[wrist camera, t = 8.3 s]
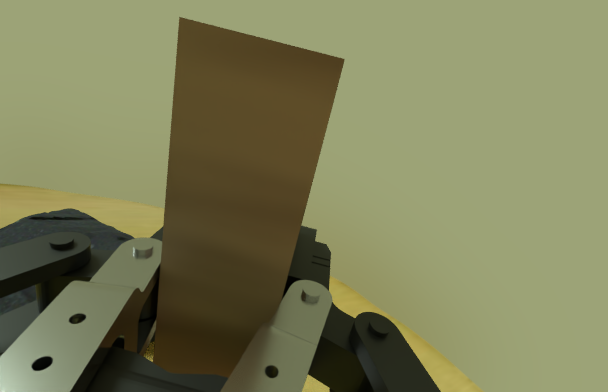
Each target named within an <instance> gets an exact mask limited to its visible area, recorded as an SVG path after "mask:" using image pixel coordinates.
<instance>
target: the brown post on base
mask: <svg viewBox="0 0 608 392" xmlns="http://www.w3.org/2000/svg"><path fill="white" fill-rule="evenodd" d="M343 64H344V59H342V58H338V57H334V56H330V55H326V54H322V53H318V52H314V51H310V50H307V49H303V48H299V47H295V46H291V45H287V44H283V43H279V42H275V41H271V40H268V39H264V38H260V37H256V36H252V35H247V34H244V33H240V32H236V31H232V30H228V29H224V28H220V27H216V26H213V25H208V24H205V23H200V22H196V21H193V20H188V19H185V18H181V17H180V19H179V30H178V44H177V56H176V69H175V82H174V83H175V84H174V95H173V108H172V121H171V134H170V135H171V136H170V148H169V161H168V174H167V187H166V188H167V189H166V200H165V213H164V226H163V239H162V252H161V265H160V278H159V291H158V304H157V317H156V331H155V344H154V357H153V363H154V364H156V365H158V366H159V367H161V368H163V369H164V370H166V371H168V372H170V373H179V374H216V375H220V376H224V377H227V378H229V377H230V375H231V373H232V372H233V370H234V368H235V367H236V365H237V364H238V362H239V360H240V359H241V357H242V355H243V354H244V352H245V351H246V349H247V347H248V346H249V344H250V342H251V341H252V339H253V338H254V336H255V334H256V333H257V331H258V330H259V328H260V326H261V325H262V324H263V323H264V322H266V323H269V322H270V320H271V318H272V317H273V315H274V313H275V311H276V310H277V308H278V306H279V305H280V303H281V300H282V296H283V292H284V288H285V284H286V281H287V277H288V273H289V269H290V265H291V262H292V258H293V254H294V250H295V247H296V243H297V239H298V235H299V231H300V228H301V224H302V220H303V216H304V212H305V209H306V205H307V201H308V197H309V193H310V189H311V186H312V182H313V178H314V174H315V170H316V167H317V163H318V159H319V155H320V151H321V147H322V144H323V140H324V136H325V132H326V128H327V124H328V121H329V117H330V113H331V109H332V106H333V102H334V98H335V94H336V90H337V87H338V83H339V79H340V75H341V71H342V68H343Z"/></svg>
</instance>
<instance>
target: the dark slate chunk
mask: <svg viewBox="0 0 608 392" xmlns="http://www.w3.org/2000/svg"><path fill="white" fill-rule="evenodd" d="M57 232H77V233H81V234H84V235H86V236H88V237H89V239H90V242H91V249H98V250H117V248H118V247H119V246H120V245H121V244H123V243H124V242H126V241H128V240H131V239H135V238H134V237H132V236H131V235H128V234H126V233H123V232H121V231H118V230H116V229H115V228H114V227H112V226H107V225H105V224H103V223H101V222H99V221H97V220H96V219H95V218H93V217H91V216H89V215H87V214H85V213H82V212H80V211H78V210H75V209H63V210H60V211H51V212H49V213H45V212H44V213H41V214H35V215H31V216H28V217H25V218H22V219H20V220H18V221H17V222H15V223H12V224H10V225H8V226H6V227H4V228H1V229H0V248H2V247H5V246H9V245H12V244H16V243H19V242H23V241H27V240H30V239H34V238H37V237H41V236H44V235H48V234H52V233H57ZM36 300H37V296H36V286H35V285H34V286H31V287H29V288H26V289H24V290H21V291H18V292H16V293H13V294H11V295H8V296H5V297H3V298H0V315H3V314H5V313H7V312H10V311H12V310H14V309H17V308H19V307H22V306H24V305H26V304H29V303H31V302H33V301H36ZM155 331H156V330H155ZM152 341H155V332H154V334H153V337H152V339H151V341H150V342H152Z"/></svg>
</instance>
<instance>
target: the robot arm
mask: <svg viewBox="0 0 608 392" xmlns="http://www.w3.org/2000/svg"><path fill="white" fill-rule="evenodd" d="M316 231H317V230H316V229H312V228H308V227H304V226H301V228H300V231H299V235H298V239H297V243H296V247H295V250H294V254H293V258H292V262H291V265H290V269H289V273H288V277H287V281H286V284H285V288H284V292H283V296H282V300H281V303H280V305H279V306H278V308H277V310H276V311H275V313H274V315H273V317H272V318H271V320H270V322H269V323H266V322H264V323H263V324H262V325H261V326H260V328H259V330H258V331H257V333H256V334H255V336H254V338H253V339H252V341H251V342H250V344H249V346H248V347H247V349H246V351H245V352H244V354H243V355H242V357H241V359H240V360H239V362H238V364H237V365H236V367H235V368H234V370H233V372H232V373H231V375H230V377H229V378H227V377H224V376H220V375H216V374H179V373H170V372H168V371H166V370H164V369H163V368H161V367H159V366H158V365H156V364H154V363H153V362H151V361H149V360H148V359H146V358H145V357H143V356H144V354H145V352H146V350H147V348H148V345H149V343H150V341H151V339H152V337H153V334H154V332H155V330H156V317H157V304H158V291H159V278H160V265H161V252H162V239H163V227H162V228H161V229H160V230H159V231H157V232H156V233H155V234H154V235H153V236H151V237H150V238H135V239H131V240H128V241H126V242H124V243H123V244H121V245H120V246H119V247H118V248H117V250H98V249H91V242H90V239H89V237H88V236H86V235H84V234H81V233H77V232H57V233H52V234H48V235H44V236H41V237H37V238H34V239H30V240H27V241H23V242H19V243H16V244H12V245H9V246H5V247H2V248H0V298H3V297H5V296H8V295H11V294H13V293H16V292H18V291H21V290H24V289H26V288H29V287H31V286H34V285H35V286H36V296H37V300H36V301H33V302H31V303H29V304H26V305H24V306H22V307H19V308H17V309H14V310H12V311H10V312H7V313H5V314H3V315H0V392H302V389H303V386H304V384H305V381H306V378H307V375H308V374H309V375H310V376H312V377H313V378H315V379H316V380H318V381H320V382H321V383H323V384H324V385H326V386H328V387H329V388H330V392H441V391H440V390H439V388H438V387H437V385H436V384H435V383H434V381H433V380H432V378H431V377H430V375H429V374H428V372H427V371H426V369H425V368H424V366H423V365H422V363H421V362H420V360H419V359H418V358H417V356H416V355H415V353H414V352H413V350H412V349H411V347H410V346H409V344H408V343H407V341H406V340H405V338H404V337H403V335H402V334H401V333H400V331H399V330H398V328H397V327H396V326H395V325H394V324H393V323H392V322H391V321H390V320H389V319H387V318H386V317H384V316H382V315H380V314H377V313H373V312H363V313H361V314H359V315H358V316H357V317H356V318H353V317H352V316H350V315H348V314H346V313H344V312H343V311H341V310H340V309H338V308H337V307H336V306H335V305H334V304H333V302H332V296H331V294H330V292H329V278H330V259H331V252H330V250H329V248H328V247H327V245H326V244H323V243H319V242H316V241H315V237H316Z"/></svg>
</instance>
